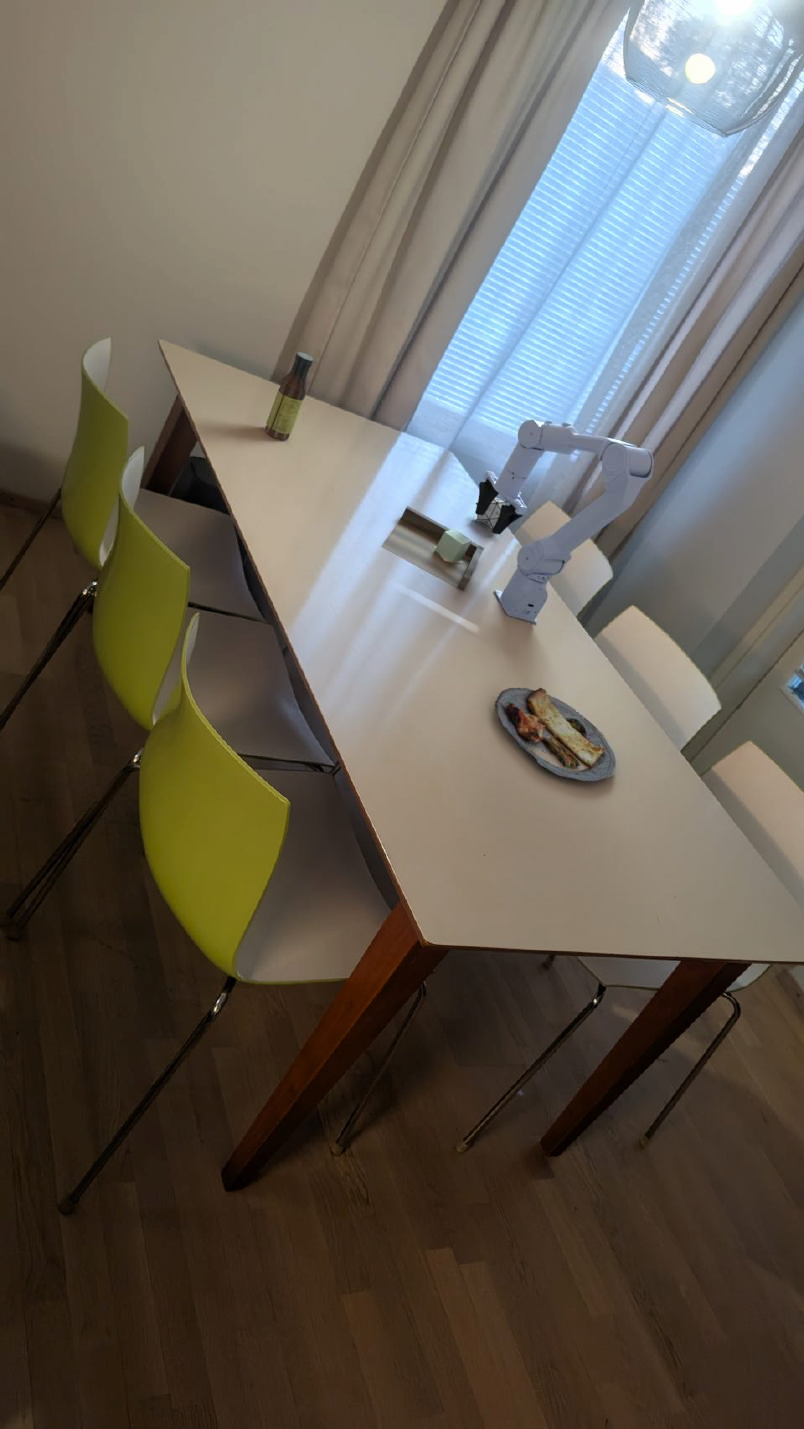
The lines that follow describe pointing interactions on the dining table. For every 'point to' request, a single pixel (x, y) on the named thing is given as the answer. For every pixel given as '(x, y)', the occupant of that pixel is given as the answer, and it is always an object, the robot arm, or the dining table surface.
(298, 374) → the sauce bottle
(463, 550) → the sage cube
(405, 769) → the dining table surface
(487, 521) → the game die
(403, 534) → the arena
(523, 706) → the food plate
